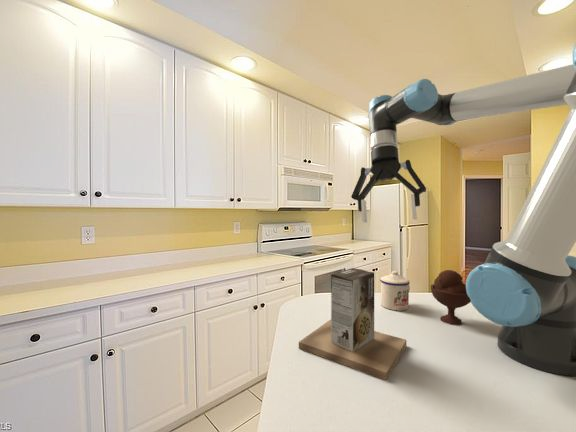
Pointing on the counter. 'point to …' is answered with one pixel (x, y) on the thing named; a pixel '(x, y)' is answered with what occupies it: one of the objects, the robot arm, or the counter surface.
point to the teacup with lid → (395, 292)
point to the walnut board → (357, 351)
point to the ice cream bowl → (450, 294)
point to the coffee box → (352, 308)
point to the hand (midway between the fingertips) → (388, 220)
